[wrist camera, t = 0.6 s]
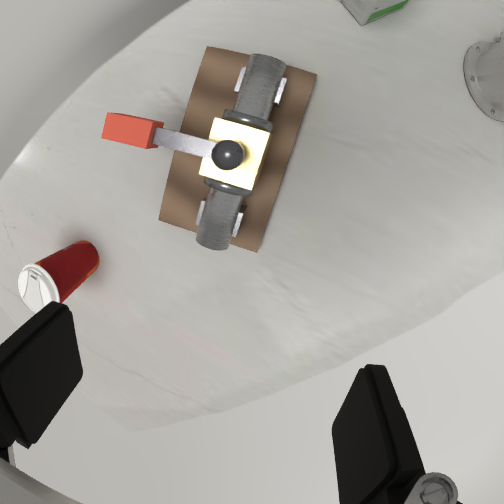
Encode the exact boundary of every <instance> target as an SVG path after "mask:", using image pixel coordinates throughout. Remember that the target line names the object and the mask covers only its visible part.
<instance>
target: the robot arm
mask: <svg viewBox="0 0 504 504" xmlns="http://www.w3.org/2000/svg"><path fill="white" fill-rule="evenodd" d="M464 72H465V79H466V82H467V86H468V88H469V91H470V93H471V95H472V97H473V99H474V100H475V102H476V103H477V105H478V106H479V107H480V108H481V109H482V111H483V112H484V113H486V114H487V115H488V116H489V117H491V118H493V119H495V120H498V121H504V32H501V33H500V42H499V43H496V44H494V43H491V42H479V43H477V44H475V45H473V46H472V47H471V48H470V49H469V50H468V52H467V54H466V56H465V61H464ZM82 375H83V369H82V364H81V359H80V355H79V350H78V345H77V339H76V334H75V328H74V322H73V315H72V312H71V311H70V310H69V308H68V306H67V305H65V304H62V303H59V302H56V301H51V302H49V303H48V304H47V305H46V306H45V307H43V308H42V309H41V310H40V311H39V312H37V313H36V314H35V315H34V316H33V317H32V318H30V319H29V320H28V321H27V322H26V323H25V324H23V325H22V326H21V327H20V328H19V329H18V330H17V331H15V332H14V333H13V334H12V335H11V336H10V337H9V338H8V339H7V340H5V342H3V343H2V344H1V345H0V504H82V503H80V502H77V501H75V500H73V499H71V498H69V497H67V496H65V495H63V494H61V493H59V492H57V491H55V490H53V489H51V488H49V487H48V486H46V485H44V484H42V483H40V482H39V481H37V480H35V479H33V478H32V477H30V476H28V475H27V474H25V473H24V472H22V471H20V470H19V469H17V468H16V465H15V459H14V453H13V446H12V444H13V443H14V441H15V440H16V442H17V443H19V444H20V445H22V446H24V447H25V448H27V449H29V447H30V446H31V444H35V443H36V442H37V441H38V440H39V438H40V437H41V435H42V434H43V432H44V431H45V430H46V428H47V427H48V425H49V424H50V422H51V421H52V419H53V418H54V416H55V415H56V414H57V412H58V411H59V409H60V408H61V406H62V405H63V404H64V402H65V401H66V399H67V398H68V397H69V395H70V394H71V392H72V391H73V390H74V388H75V387H76V386H77V384H78V383H79V381H80V380H81V378H82ZM332 437H333V446H334V454H335V462H336V471H337V481H338V491H339V501H340V504H462V503H460V502H459V501H457V498H458V491H457V487H456V485H455V483H454V482H453V481H452V480H451V478H449V477H448V476H446V475H444V474H441V473H433V472H432V473H428V474H426V473H425V470H424V467H423V463H422V460H421V457H420V454H419V451H418V448H417V445H416V442H415V439H414V437H413V434H412V431H411V428H410V425H409V422H408V419H407V417H406V414H405V411H404V409H403V408H402V407H401V405H400V403H399V400H398V397H397V394H396V392H395V389H394V387H393V384H392V382H391V379H390V376H389V374H388V371H387V369H386V367H385V366H384V365H373V364H367V365H366V366H365V367H364V368H361V369H359V371H358V373H357V375H356V377H355V380H354V382H353V384H352V386H351V388H350V390H349V392H348V394H347V396H346V398H345V401H344V403H343V405H342V406H341V408H340V411H339V413H338V414H337V416H336V418H335V420H334V422H333V425H332Z"/></svg>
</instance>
